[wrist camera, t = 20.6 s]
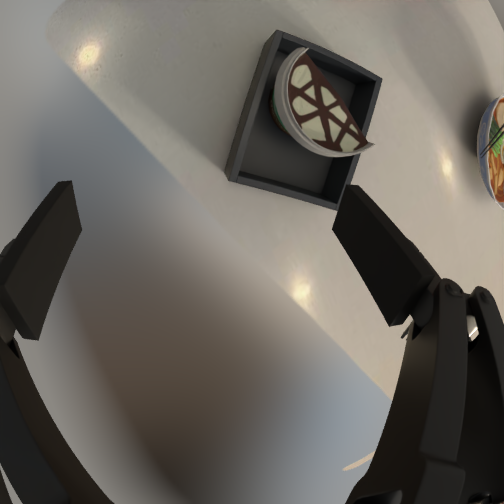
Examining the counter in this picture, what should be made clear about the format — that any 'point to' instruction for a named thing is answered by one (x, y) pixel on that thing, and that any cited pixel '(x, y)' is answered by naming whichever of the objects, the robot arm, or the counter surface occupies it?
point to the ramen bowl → (492, 149)
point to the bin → (286, 147)
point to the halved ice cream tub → (313, 109)
